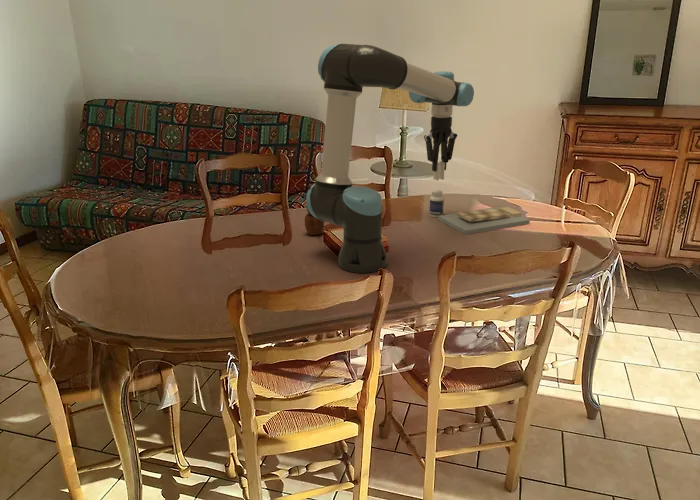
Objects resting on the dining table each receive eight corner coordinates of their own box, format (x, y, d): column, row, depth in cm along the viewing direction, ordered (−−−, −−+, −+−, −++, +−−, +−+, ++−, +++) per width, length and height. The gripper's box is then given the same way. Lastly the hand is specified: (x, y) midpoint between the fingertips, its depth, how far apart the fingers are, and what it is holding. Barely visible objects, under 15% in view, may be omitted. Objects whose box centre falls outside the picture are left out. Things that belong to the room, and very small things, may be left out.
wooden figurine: (325, 231, 212) (324, 191, 207) (323, 236, 207) (322, 195, 201) (306, 230, 213) (305, 190, 207) (304, 236, 207) (302, 195, 202)
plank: (469, 221, 213) (469, 218, 213) (457, 215, 220) (457, 212, 219) (510, 217, 220) (510, 214, 220) (496, 211, 227) (497, 208, 226)
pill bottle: (443, 217, 226) (445, 193, 222) (429, 217, 226) (430, 193, 222) (442, 213, 231) (443, 189, 227) (428, 213, 231) (429, 189, 227)
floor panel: (465, 234, 208) (465, 227, 207) (438, 219, 223) (438, 212, 222) (529, 223, 218) (529, 216, 217) (499, 210, 234) (499, 203, 233)
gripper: (429, 118, 208) (426, 183, 217) (464, 116, 214) (460, 179, 222) (418, 115, 215) (416, 178, 223) (453, 113, 220) (449, 174, 229)
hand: (438, 179), depth 223 cm, fingers open, 1 cm apart
